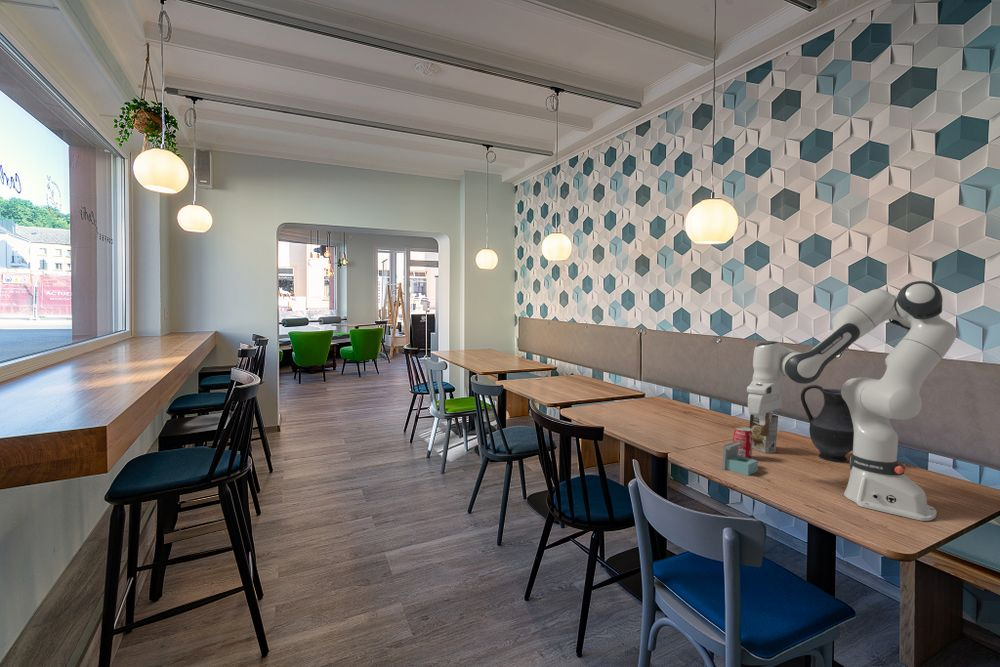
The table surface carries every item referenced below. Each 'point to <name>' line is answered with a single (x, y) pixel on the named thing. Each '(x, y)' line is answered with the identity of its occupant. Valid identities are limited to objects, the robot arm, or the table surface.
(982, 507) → the table surface
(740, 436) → the soda can
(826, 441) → the pitcher
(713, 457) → the table surface
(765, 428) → the peg
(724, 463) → the socket station
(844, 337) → the robot arm
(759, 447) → the coffee box
